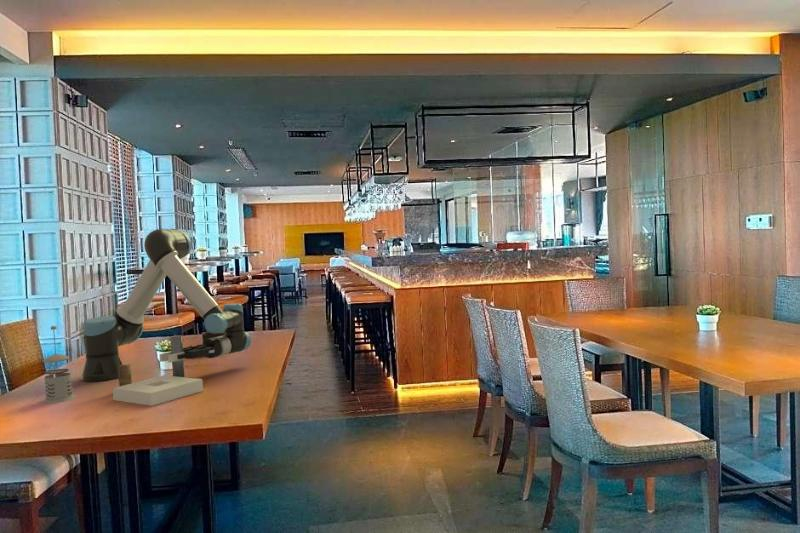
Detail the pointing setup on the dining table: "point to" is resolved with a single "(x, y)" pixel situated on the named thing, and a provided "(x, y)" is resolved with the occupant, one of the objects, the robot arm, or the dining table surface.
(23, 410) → the dining table surface
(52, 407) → the dining table surface
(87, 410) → the dining table surface
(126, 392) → the hole plate
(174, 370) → the metal pin
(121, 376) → the walnut pin
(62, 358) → the french press
